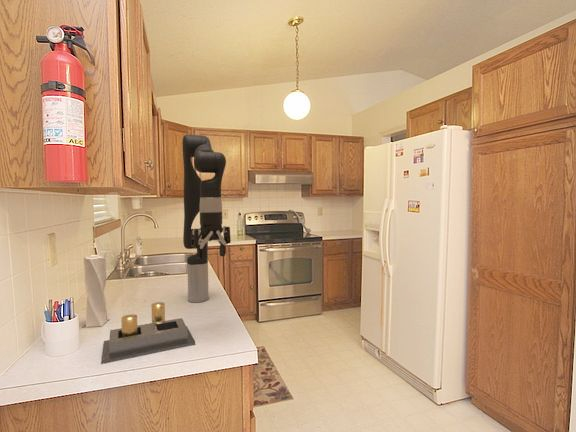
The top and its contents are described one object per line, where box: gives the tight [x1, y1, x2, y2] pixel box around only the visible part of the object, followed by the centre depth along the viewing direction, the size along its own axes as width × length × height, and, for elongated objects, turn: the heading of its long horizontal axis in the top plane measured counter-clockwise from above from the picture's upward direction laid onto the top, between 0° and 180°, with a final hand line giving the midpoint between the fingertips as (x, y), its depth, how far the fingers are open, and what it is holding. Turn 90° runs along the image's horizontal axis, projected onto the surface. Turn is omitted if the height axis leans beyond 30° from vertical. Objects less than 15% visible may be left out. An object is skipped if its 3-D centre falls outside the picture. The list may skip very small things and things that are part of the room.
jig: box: [101, 313, 196, 365], centre depth 103 cm, size 15×26×10 cm, turn 117°
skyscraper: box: [81, 250, 110, 329], centre depth 120 cm, size 8×8×28 cm
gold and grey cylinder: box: [151, 301, 166, 323], centre depth 115 cm, size 4×4×9 cm
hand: (211, 257), depth 111 cm, fingers open, 8 cm apart
